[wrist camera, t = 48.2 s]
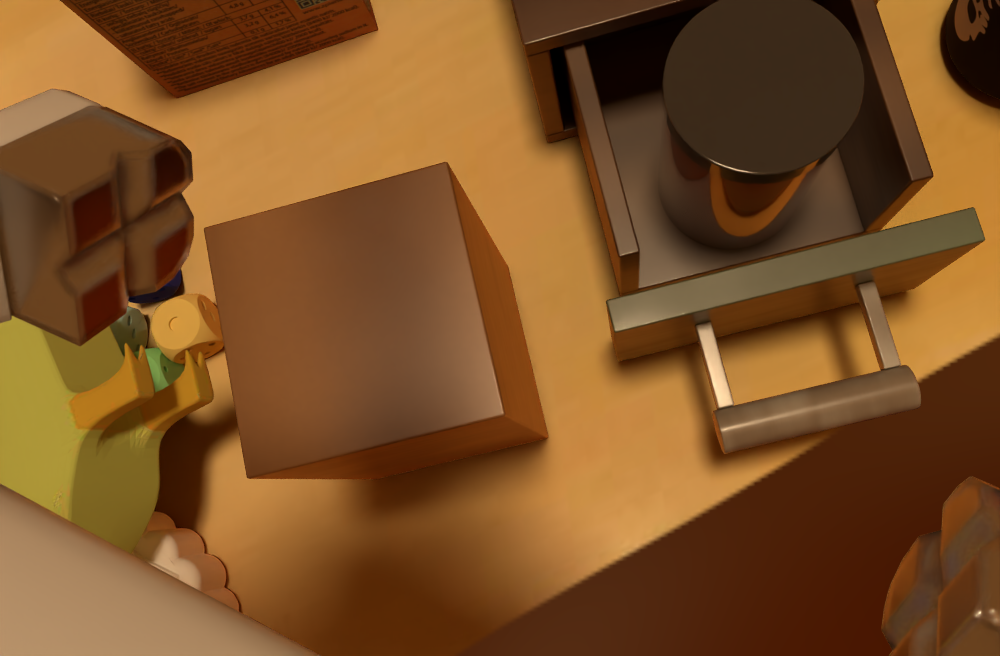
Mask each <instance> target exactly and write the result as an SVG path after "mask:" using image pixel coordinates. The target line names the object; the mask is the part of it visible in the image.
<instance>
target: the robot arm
mask: <svg viewBox="0 0 1000 656" xmlns="http://www.w3.org/2000/svg"><path fill="white" fill-rule="evenodd" d="M192 181H193V171H192V155H191V152H190V150H189V149H188V148H187V147H186V146H185V145H184V144H183V143H182V141H181V140H178V139H176V138H174V137H172V136H170V135H167V134H165V133H163V132H161V131H158V130H156V129H154V128H152V127H150V126H147V125H145V124H143V123H141V122H138V121H136V120H134V119H132V118H130V117H127V116H125V115H123V114H121V113H119V112H116V111H114V110H112V109H110V108H107V107H103V106H101V105H100V104H98V103H96V102H93V101H91V100H89V99H86V98H84V97H82V96H79V95H77V94H75V93H72V92H70V91H64V90H57V89H50V90H48V91H45V92H43V93H40V94H38V95H36V96H33V97H31V98H28V99H26V100H24V101H21V102H19V103H16V104H14V105H12V106H9V107H7V108H4V109H2V110H0V323H3V322H6V321H10V320H11V319H12V316H14V317H16V318H18V319H20V320H23V321H25V322H27V323H29V324H31V325H34V326H36V327H38V328H40V329H42V330H45V331H47V332H49V333H51V334H53V335H56V336H58V337H60V338H62V339H64V340H67V341H69V342H71V343H73V344H76V345H78V346H82V345H83V344H85V343H86V342H87V341H89V340H90V339H91V338H93V337H94V336H96V335H97V334H98V333H100V332H101V331H103V330H104V329H105V328H107V327H108V326H110V325H111V324H112V323H114V322H115V321H117V320H118V319H119V318H121V317H122V316H123V315H125V314H126V312H127V306H128V300H129V297H133V296H138V295H143V294H148V293H154V292H156V291H158V290H159V289H160V288H162V287H163V286H164V285H166V284H167V283H168V282H169V281H171V280H172V279H173V278H174V277H175V276H176V274H177V273H178V271H179V270H180V268H181V267H182V265H183V264H184V262H185V260H186V259H187V257H188V256H189V252H190V248H191V244H192V240H193V236H194V216H193V214H192V212H191V210H190V208H189V207H188V205H187V203H186V201H185V199H184V197H183V195H182V192H183V191H184V190H185V189H186V188H187V187H188V185H189V184H190V183H191V182H192ZM882 632H883V633H884V635H885V637H886V639H887V641H888V643H889V644H890V646H891V648H892V650H893V651H892V653H891V654H890V655H889V656H1000V488H998V487H996V486H994V485H991V484H989V483H987V482H984V481H981V480H979V479H977V478H974V477H972V476H971V477H969V478H968V479H967V480H965V481H964V482H963V483H961V484H960V485H959V486H958V487H957V488H956V489H955V491H954V492H953V493H952V494H951V496H950V497H949V498H948V499H947V501H946V502H945V503H944V505H943V521H942V530H940V531H936V532H933V533H929V534H926V535H922V536H919V537H918V539H917V540H916V541H915V543H914V544H913V546H912V547H911V548H910V550H909V551H908V553H907V554H906V555H905V557H904V558H903V560H902V562H901V564H900V566H899V568H898V571H897V572H896V575H895V577H894V579H893V581H892V583H891V585H890V588H889V592H888V596H887V600H886V603H885V607H884V615H883V623H882ZM0 656H321V655H319V654H317V653H315V652H313V651H311V650H309V649H308V648H306V647H304V646H302V645H300V644H298V643H296V642H295V641H293V640H291V639H289V638H287V637H285V636H283V635H281V634H280V633H278V632H276V631H274V630H272V629H270V628H268V627H267V626H265V625H263V624H261V623H259V622H257V621H255V620H253V619H252V618H250V617H248V616H246V615H244V614H242V613H240V612H238V611H237V610H235V609H233V608H231V607H229V606H227V605H225V604H224V603H222V602H220V601H218V600H216V599H214V598H212V597H210V596H209V595H207V594H205V593H203V592H201V591H199V590H197V589H196V588H194V587H192V586H190V585H188V584H186V583H184V582H182V581H181V580H179V579H177V578H175V577H173V576H171V575H169V574H168V573H166V572H164V571H162V570H160V569H158V568H156V567H155V566H153V565H151V564H149V563H147V562H145V561H143V560H142V559H140V558H138V557H136V556H134V555H132V554H130V553H129V552H127V551H125V550H123V549H121V548H119V547H117V546H116V545H114V544H112V543H110V542H108V541H106V540H104V539H103V538H101V537H99V536H97V535H95V534H93V533H91V532H90V531H88V530H86V529H84V528H82V527H80V526H78V525H77V524H75V523H73V522H71V521H69V520H67V519H65V518H64V517H62V516H60V515H58V514H56V513H54V512H52V511H51V510H49V509H47V508H45V507H43V506H41V505H39V504H38V503H36V502H34V501H32V500H30V499H28V498H26V497H25V496H23V495H21V494H19V493H17V492H15V491H14V490H12V489H10V488H8V487H6V486H4V485H2V484H1V483H0Z"/></svg>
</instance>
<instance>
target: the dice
mask: <svg viewBox="0 0 1000 656" xmlns="http://www.w3.org/2000/svg"><path fill="white" fill-rule="evenodd" d="M180 283H181V271H180V270H179V271H178V273H177V274H176V276H175V277H174V278H173V279H172V280H171V281H169V282H168V283H167V284H166V285H164V286H163V287H162V288H160V289H159V290H158V291H156V292H154V293H148V294H143V295H138V296H133V297H129V300H128V301H129V302H133V303H152V302H157V301H161V300H164V299H167V298H169V297H171V296H173V295H174V294H175V292H176V291H177V290H178V288H179V286H180ZM110 328H111V330H112V332H113V335H114V337H115V339H116V341H117V343H118V345H119V348H120V350H121V352H122V354H123V356H124V358H125V343H127V344H128V345H129V347H130V349H131V350H132V352H133V353H134V355H135V357H136V358H137V359H138V357H139V351H140V346H141V345H142V346H143V347H144V349H145V348H146V345H147V340H148V328H147V323H146V320H145V318H144V316H143V315H142V313H141V312H140V311H139V310H138V309H135V308H132V307H128V306H127V312H126V314H125V315H123V316H122V317H121V318H119V319H118V320H117V321H115V322H114V323H112V324H111V325H110ZM150 328H151V332H152V336H153V338H154V340H155V342H156V344H157V346H158V347H159V348H149V349H145V352H146V356H147V359H148V363H149V366H150V370H151V374H152V378H153V383H154V388H155V393H156V392H158V391H161V390H162V389H164V388H165V387H167V386H169V385H170V384H172V383H173V382H174V381H175V380H176V379H178V378H179V377H180V375H181V374H182V372H183V371H184V369H185V367H184V365H183V364H185V363H186V358H185V352H186V350H188V351H189V352H190V354H191V355H192V357H193V359H194V360H195V362H196V361H198V353H199V352H201V353H202V354H203V356H204V359H205V358H208V357H210V356H212V355H214V354H215V353H217V352H218V351H220V350H221V349H222V348H223V346H224V342H223V337H222V331H221V325H220V319H219V314H218V309H217V308H216V306H215V305H214V304H213V303H212V302H211V301H210V300H209V299H208V298H207V297H205V296H203V295H201V294H186V295H181V296H177V297H174V298H172V299H169V300H167V301H165V302H164V303H162V304H161V305H159V306H158V307H157V308H156V310H155V312H154V314H153V316H152V319H151V323H150Z"/></svg>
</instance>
